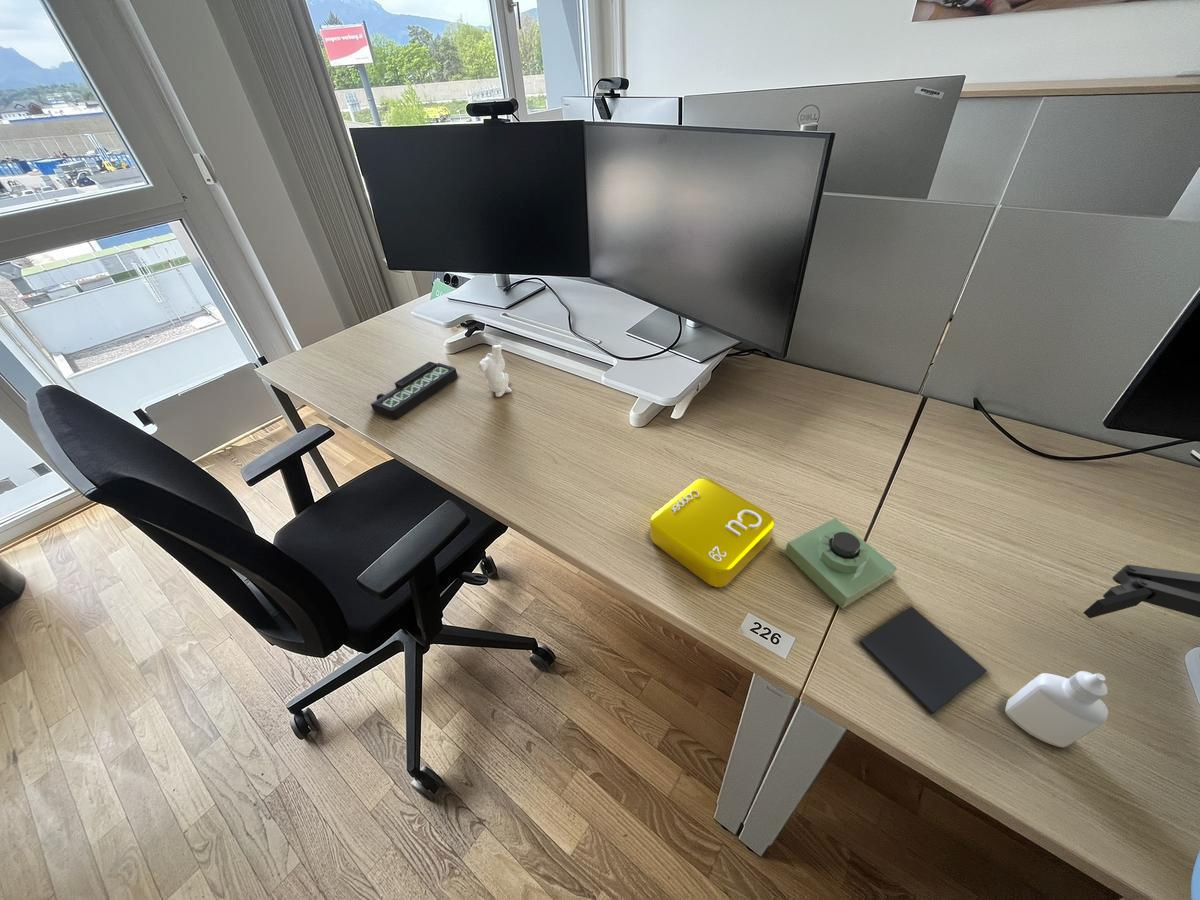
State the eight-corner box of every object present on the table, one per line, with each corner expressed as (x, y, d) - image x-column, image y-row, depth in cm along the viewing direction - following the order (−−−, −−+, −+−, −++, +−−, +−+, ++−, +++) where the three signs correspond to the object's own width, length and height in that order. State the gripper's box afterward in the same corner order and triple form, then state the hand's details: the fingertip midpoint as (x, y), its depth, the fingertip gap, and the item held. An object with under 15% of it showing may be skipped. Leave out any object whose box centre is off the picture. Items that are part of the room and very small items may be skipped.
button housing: (891, 578, 68) (901, 559, 65) (841, 608, 65) (851, 590, 62) (830, 528, 75) (838, 509, 73) (784, 553, 72) (790, 535, 69)
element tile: (701, 490, 84) (703, 471, 81) (775, 536, 75) (780, 516, 72) (644, 537, 77) (644, 518, 74) (719, 593, 68) (722, 574, 65)
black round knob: (862, 552, 67) (866, 545, 66) (844, 563, 66) (848, 555, 65) (842, 535, 69) (845, 528, 68) (824, 545, 68) (827, 537, 67)
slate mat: (984, 672, 57) (987, 670, 57) (931, 714, 54) (933, 712, 54) (910, 608, 64) (911, 606, 64) (859, 642, 61) (860, 640, 61)
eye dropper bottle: (1044, 757, 50) (1116, 714, 42) (996, 705, 54) (1053, 657, 46) (1074, 743, 51) (1151, 698, 43) (1025, 692, 55) (1086, 643, 47)
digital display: (429, 358, 123) (456, 366, 119) (432, 368, 126) (459, 377, 121) (363, 398, 110) (391, 410, 106) (368, 409, 112) (396, 421, 108)
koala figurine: (504, 380, 118) (494, 337, 111) (522, 387, 115) (514, 344, 107) (479, 396, 113) (467, 352, 106) (498, 404, 110) (487, 360, 102)
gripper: (1468, 759, 43) (1288, 823, 41) (1167, 551, 62) (1030, 586, 60) (1572, 730, 38) (1373, 801, 36) (1210, 513, 57) (1064, 550, 55)
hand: (1159, 667), depth 48 cm, fingers open, 13 cm apart
